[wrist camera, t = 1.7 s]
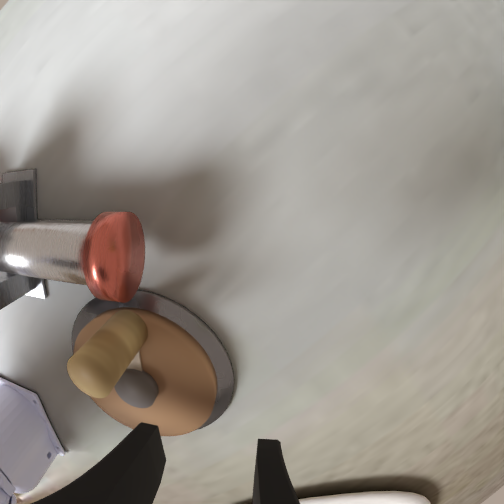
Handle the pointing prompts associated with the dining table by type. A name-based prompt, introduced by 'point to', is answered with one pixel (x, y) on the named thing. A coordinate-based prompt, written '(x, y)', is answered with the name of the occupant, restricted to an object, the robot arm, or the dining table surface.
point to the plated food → (369, 498)
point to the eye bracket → (21, 210)
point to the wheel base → (185, 321)
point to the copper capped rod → (79, 253)
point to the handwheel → (144, 371)
